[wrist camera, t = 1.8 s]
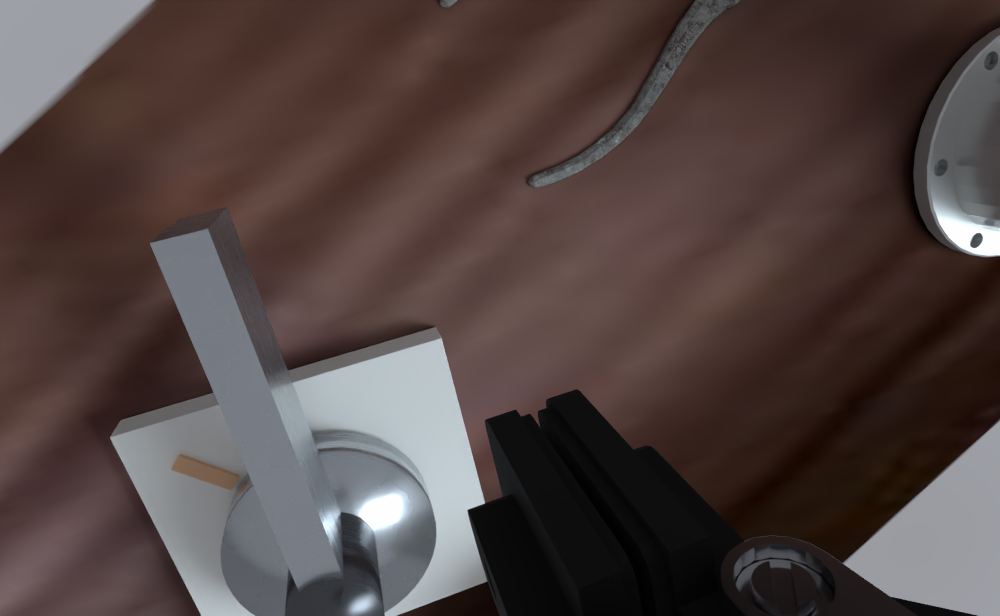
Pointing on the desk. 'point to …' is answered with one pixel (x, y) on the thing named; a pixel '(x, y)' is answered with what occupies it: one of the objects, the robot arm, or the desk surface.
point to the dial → (292, 455)
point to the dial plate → (328, 408)
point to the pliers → (690, 27)
